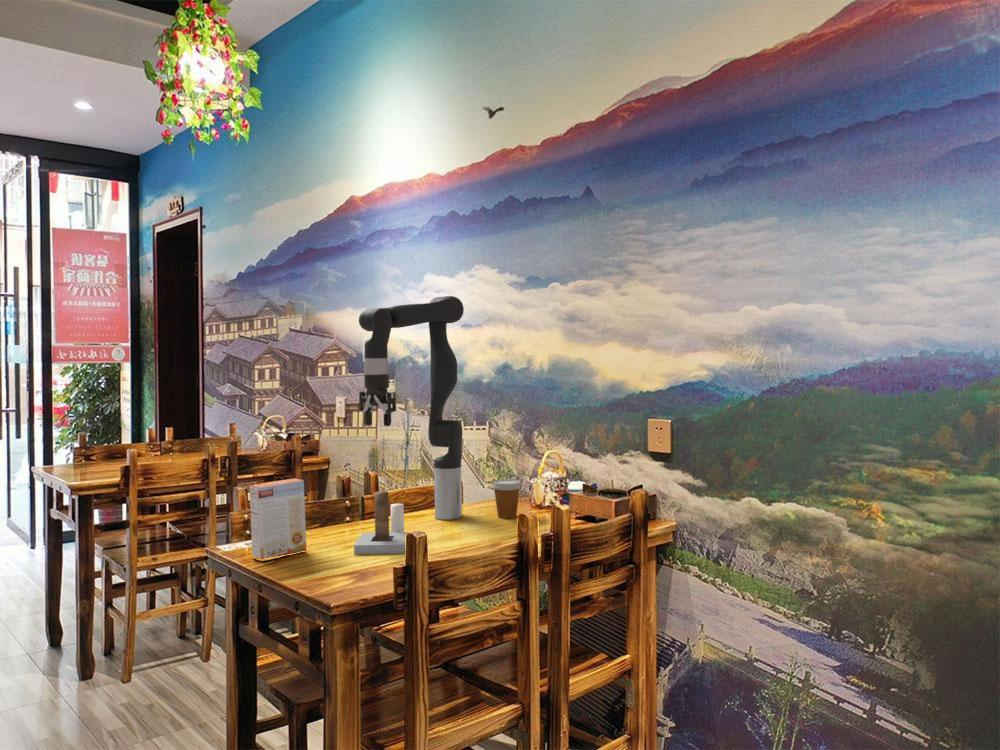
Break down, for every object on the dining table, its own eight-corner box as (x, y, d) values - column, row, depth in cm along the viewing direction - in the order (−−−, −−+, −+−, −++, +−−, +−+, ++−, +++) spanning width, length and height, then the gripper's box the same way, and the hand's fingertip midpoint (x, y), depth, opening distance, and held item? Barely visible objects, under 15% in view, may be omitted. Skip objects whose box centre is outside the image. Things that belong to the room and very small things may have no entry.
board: (362, 541, 221) (362, 533, 221) (409, 540, 221) (409, 532, 221) (354, 554, 207) (353, 545, 207) (403, 553, 207) (403, 544, 207)
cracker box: (296, 548, 214) (294, 477, 213) (307, 552, 209) (305, 479, 209) (250, 559, 204) (248, 484, 203) (260, 563, 200) (258, 486, 199)
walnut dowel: (376, 545, 216) (375, 491, 215) (390, 545, 216) (389, 491, 215) (374, 549, 212) (373, 494, 211) (388, 548, 212) (387, 493, 211)
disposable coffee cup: (524, 518, 247) (523, 483, 246) (496, 520, 245) (496, 484, 244) (517, 512, 256) (516, 478, 256) (490, 514, 254) (489, 480, 253)
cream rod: (392, 535, 227) (391, 503, 227) (405, 535, 227) (404, 503, 227) (390, 539, 223) (389, 506, 223) (403, 538, 223) (402, 505, 223)
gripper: (401, 372, 226) (402, 425, 226) (370, 372, 235) (371, 423, 235) (383, 373, 220) (384, 427, 220) (351, 373, 229) (353, 425, 229)
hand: (377, 425), depth 228 cm, fingers open, 8 cm apart
